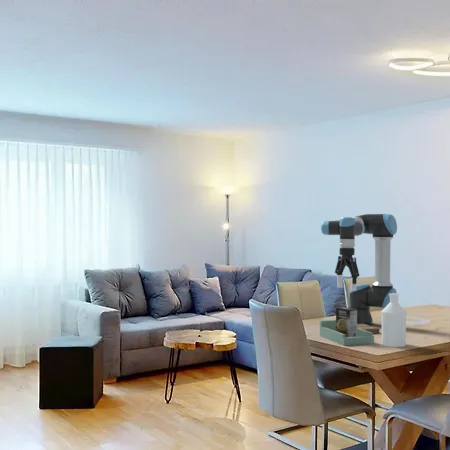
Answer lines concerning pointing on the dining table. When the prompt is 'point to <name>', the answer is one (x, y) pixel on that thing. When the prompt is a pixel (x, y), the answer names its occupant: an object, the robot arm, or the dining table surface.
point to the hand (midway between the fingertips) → (346, 289)
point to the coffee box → (346, 321)
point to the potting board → (368, 328)
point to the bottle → (393, 323)
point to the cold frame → (330, 333)
